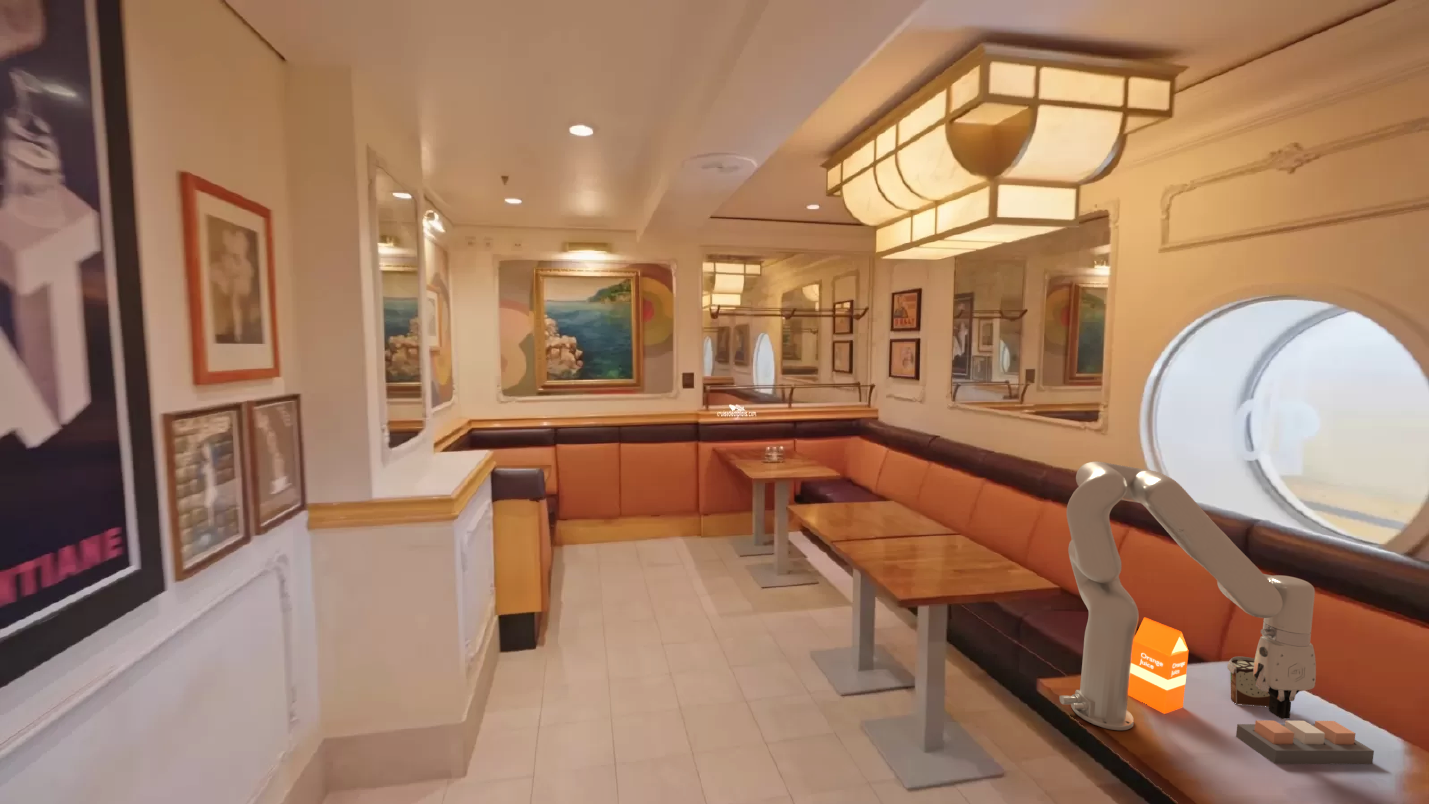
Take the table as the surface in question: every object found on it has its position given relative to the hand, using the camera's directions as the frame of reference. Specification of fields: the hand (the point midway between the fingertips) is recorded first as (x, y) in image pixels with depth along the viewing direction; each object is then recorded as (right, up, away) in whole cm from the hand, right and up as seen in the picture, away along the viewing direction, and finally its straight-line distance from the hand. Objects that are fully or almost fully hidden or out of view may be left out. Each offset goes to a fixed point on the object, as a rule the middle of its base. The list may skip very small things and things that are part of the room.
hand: (1278, 715), depth 131 cm
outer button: (+13, -7, +1) cm, 15 cm away
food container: (+11, -7, +21) cm, 25 cm away
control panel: (+6, -8, +1) cm, 10 cm away
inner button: (-1, -7, +1) cm, 7 cm away
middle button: (+6, -7, +1) cm, 9 cm away
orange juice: (-14, -7, +19) cm, 24 cm away
